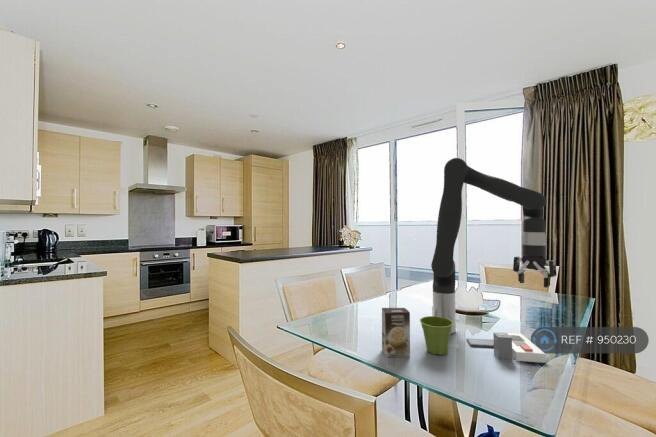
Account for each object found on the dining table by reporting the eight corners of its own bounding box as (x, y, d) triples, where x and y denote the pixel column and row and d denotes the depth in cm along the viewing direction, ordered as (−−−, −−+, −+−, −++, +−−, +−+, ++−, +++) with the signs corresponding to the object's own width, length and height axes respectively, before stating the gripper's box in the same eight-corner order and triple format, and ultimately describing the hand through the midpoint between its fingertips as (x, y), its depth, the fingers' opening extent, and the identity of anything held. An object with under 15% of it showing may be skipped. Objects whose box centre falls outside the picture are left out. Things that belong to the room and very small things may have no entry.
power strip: (516, 360, 103) (516, 349, 103) (496, 339, 121) (496, 330, 121) (545, 362, 101) (545, 351, 101) (521, 341, 119) (521, 331, 119)
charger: (498, 360, 104) (498, 336, 104) (493, 354, 108) (493, 331, 108) (512, 360, 103) (511, 337, 103) (507, 355, 107) (506, 332, 107)
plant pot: (427, 342, 120) (426, 314, 120) (458, 349, 112) (457, 319, 112) (414, 352, 111) (414, 322, 111) (447, 361, 103) (447, 329, 103)
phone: (470, 346, 115) (470, 344, 115) (466, 340, 121) (466, 338, 121) (504, 348, 113) (504, 346, 113) (498, 342, 119) (498, 339, 119)
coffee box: (385, 357, 107) (384, 312, 107) (381, 350, 113) (380, 307, 113) (410, 356, 107) (410, 312, 107) (405, 349, 114) (404, 307, 114)
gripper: (509, 242, 121) (509, 282, 121) (550, 245, 109) (550, 290, 109) (519, 241, 125) (519, 280, 125) (559, 244, 112) (559, 287, 113)
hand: (533, 285), depth 117 cm, fingers open, 8 cm apart
